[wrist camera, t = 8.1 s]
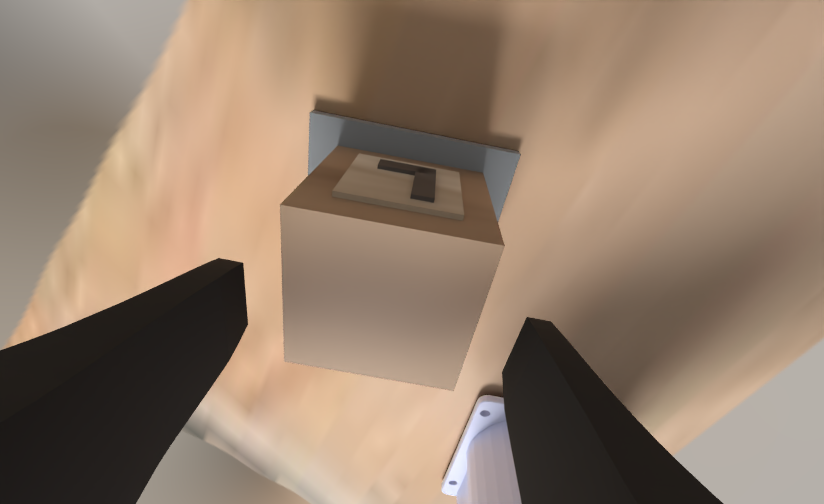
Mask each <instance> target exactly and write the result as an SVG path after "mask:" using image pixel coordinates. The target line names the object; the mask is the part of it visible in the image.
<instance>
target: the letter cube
mask: <svg viewBox="0 0 824 504" xmlns="http://www.w3.org/2000/svg"><path fill="white" fill-rule="evenodd" d="M280 219H281V257H282V295H283V333H284V362H289V363H295V364H301V365H307V366H312V367H318V368H324V369H330V370H335V371H341V372H347V373H353V374H358V375H364V376H370V377H376V378H382V379H387V380H393V381H399V382H405V383H410V384H416V385H422V386H428V387H433V388H439V389H445V390H451V391H454V389H455V386H456V383H457V380H458V378H459V375H460V372H461V369H462V366H463V363H464V360H465V358H466V355H467V352H468V349H469V346H470V343H471V340H472V338H473V335H474V332H475V329H476V326H477V323H478V321H479V318H480V315H481V312H482V309H483V306H484V303H485V301H486V298H487V295H488V292H489V289H490V286H491V283H492V281H493V278H494V275H495V272H496V269H497V266H498V264H499V261H500V258H501V255H502V252H503V249H504V246H505V245H504V242H503V239H502V235H501V232H500V228H499V225H498V222H497V218H496V215H495V211H494V208H493V205H492V201H491V198H490V195H489V191H488V188H487V184H486V181H485V178H484V174H483V173H482V172H476V171H471V170H466V169H460V168H455V167H450V166H444V165H439V164H434V163H428V162H423V161H418V160H412V159H407V158H402V157H396V156H391V155H386V154H381V153H375V152H370V151H365V150H359V149H354V148H349V147H343V146H337V147H336V148H335V149H334V150H333V151H332V152H331V153H330V154H329V155H328V156H327V157H326V158H325V159H324V160H323V161H322V162H321V163H320V164H319V165H318V166H317V167H316V168H315V169H314V170H313V171H312V172H311V173H310V174H309V175H308V176H307V177H306V179H305V180H304V181H303V182H302V183H301V184H300V185H299V186H298V187H297V188H296V189H295V190H294V191H293V192H292V193H291V194H290V195H289V196H288V197H287V198H286V199H285V200H284V201H283V202H282V203H281V204H280Z"/></svg>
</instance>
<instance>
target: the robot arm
mask: <svg viewBox="0 0 824 504" xmlns="http://www.w3.org/2000/svg"><path fill="white" fill-rule="evenodd" d="M247 325H248V319H247V306H246V293H245V280H244V268H243V263H241V262H236V261H231V260H225V259H220V258H218V259H216V260H213V261H211V262H208V263H206V264H204V265H201V266H199V267H197V268H195V269H193V270H191V271H188V272H186V273H184V274H182V275H180V276H178V277H176V278H174V279H171V280H169V281H167V282H165V283H163V284H161V285H159V286H156V287H154V288H152V289H150V290H148V291H146V292H143V293H141V294H139V295H137V296H135V297H133V298H130V299H128V300H126V301H124V302H121V303H119V304H117V305H114V306H112V307H110V308H107V309H105V310H103V311H100V312H98V313H96V314H93V315H91V316H88V317H86V318H84V319H81V320H79V321H77V322H74V323H72V324H70V325H67V326H65V327H62V328H60V329H57V330H55V331H52V332H50V333H47V334H44V335H42V336H39V337H36V338H34V339H31V340H29V341H26V342H23V343H20V344H17V345H14V346H12V347H9V348H6V349H3V350H0V504H136V502H137V500H138V499H139V497H140V495H141V494H142V492H143V490H144V488H145V486H146V485H147V483H148V481H149V479H150V478H151V476H152V474H153V472H154V471H155V469H156V467H157V466H158V464H159V462H160V461H161V459H162V458H163V456H164V455H165V453H166V451H167V450H168V449H169V447H170V445H171V444H172V443H173V441H174V440H175V438H176V436H177V435H178V434H179V432H180V431H181V430H182V428H183V427H184V425H185V424H186V422H187V421H188V420H189V418H190V417H191V415H192V414H193V412H194V411H195V410H196V408H197V407H198V405H199V404H200V402H201V401H202V399H203V398H204V397H205V395H206V394H207V392H208V391H209V389H210V388H211V387H212V385H213V384H214V382H215V381H216V379H217V378H218V376H219V375H220V373H221V372H222V370H223V369H224V368H225V366H226V365H227V363H228V362H229V360H230V358H231V356H232V354H233V353H234V351H235V349H236V347H237V345H238V343H239V341H240V339H241V337H242V335H243V333H244V331H245V329H246V327H247ZM502 378H503V397H504V398H502V397H497V396H491V395H484V396H481V397H479V399H478V400H477V402H476V405H475V407H474V409H473V412H472V414H471V416H470V419H469V421H468V423H467V426H466V428H465V430H464V433H463V435H462V437H461V440H460V442H459V444H458V447H457V449H456V451H455V454H454V456H453V458H452V461H451V463H450V465H449V468H448V470H447V472H446V475H445V477H444V479H443V482H442V489H441V490H442V492H443V493H445V494H447V495H453V496H457V504H723V503H722V502H721V501H720V500H719V499H718V498H716V497H715V496H714V495H713V494H712V493H711V492H710V491H709V490H708V489H707V488H706V487H704V486H703V485H702V484H701V483H700V482H699V481H698V480H697V479H696V478H695V477H694V476H693V475H692V474H691V473H689V471H687V470H686V469H685V468H684V467H683V466H682V465H681V464H680V463H679V462H678V461H677V460H676V459H675V458H674V457H673V456H672V455H671V454H670V453H669V452H668V451H667V450H666V449H665V448H664V447H663V446H662V445H661V444H660V443H659V442H658V441H657V440H656V439H655V438H654V437H653V436H652V435H651V434H650V433H649V432H648V431H647V430H646V429H645V428H644V427H643V425H642V424H641V423H640V422H639V421H638V420H637V419H636V418H635V417H634V416H633V415H632V414H631V413H630V412H629V411H628V410H627V408H626V407H625V406H624V405H623V404H622V403H621V402H620V401H619V400H618V399H617V397H616V396H615V395H614V394H613V393H612V392H611V391H610V390H609V388H608V387H607V386H606V385H605V384H604V383H603V382H602V380H601V379H600V378H599V377H598V376H597V375H596V373H595V372H594V371H593V370H592V369H591V368H590V366H589V365H588V364H587V363H586V362H585V361H584V359H583V358H582V357H581V356H580V355H579V353H578V352H577V351H576V350H575V349H574V348H573V346H572V345H571V344H570V343H569V342H568V340H567V339H566V338H565V337H564V336H563V335H562V333H561V332H560V331H559V330H558V329H557V328H556V327H555V326H554V325H553V324H552V322H550V321H545V320H540V319H535V318H530V317H527V318H526V320H525V323H524V325H523V327H522V329H521V331H520V334H519V336H518V338H517V340H516V343H515V345H514V347H513V349H512V351H511V354H510V356H509V358H508V360H507V362H506V365H505V367H504V369H503V371H502Z"/></svg>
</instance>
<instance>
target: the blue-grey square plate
mask: <svg viewBox="0 0 824 504" xmlns="http://www.w3.org/2000/svg"><path fill="white" fill-rule="evenodd" d="M337 146H343V147H349V148H354V149H359V150H365V151H370V152H375V153H381V154H386V155H391V156H396V157H402V158H407V159H412V160H418V161H423V162H428V163H434V164H439V165H444V166H450V167H455V168H460V169H466V170H471V171H476V172H482V173H483V174H484V178H485V181H486V184H487V188H488V191H489V195H490V198H491V201H492V205H493V208H494V211H495V215H496V218H497V222H498V220H499V217H500V214H501V211H502V208H503V205H504V202H505V199H506V196H507V194H508V191H509V188H510V185H511V182H512V179H513V176H514V173H515V170H516V167H517V164H518V161H519V158H520V155H521V154H520V153H519V151H515V150H510V149H505V148H500V147H495V146H490V145H485V144H480V143H475V142H470V141H465V140H460V139H455V138H450V137H445V136H440V135H435V134H430V133H425V132H420V131H415V130H410V129H405V128H400V127H395V126H390V125H385V124H380V123H375V122H370V121H365V120H360V119H355V118H350V117H345V116H340V115H335V114H330V113H325V112H320V111H315V110H313V111H311V112H310V123H309V160H308V175H309V174H310V173H311V172H312V171H313V170H314V169H315V168H316V167H317V166H318V165H319V164H320V163H321V162H322V161H323V160H324V159H325V158H326V157H327V156H328V155H329V154H330V153H331V152H332V151H333V150H334V149H335V148H336V147H337Z"/></svg>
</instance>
